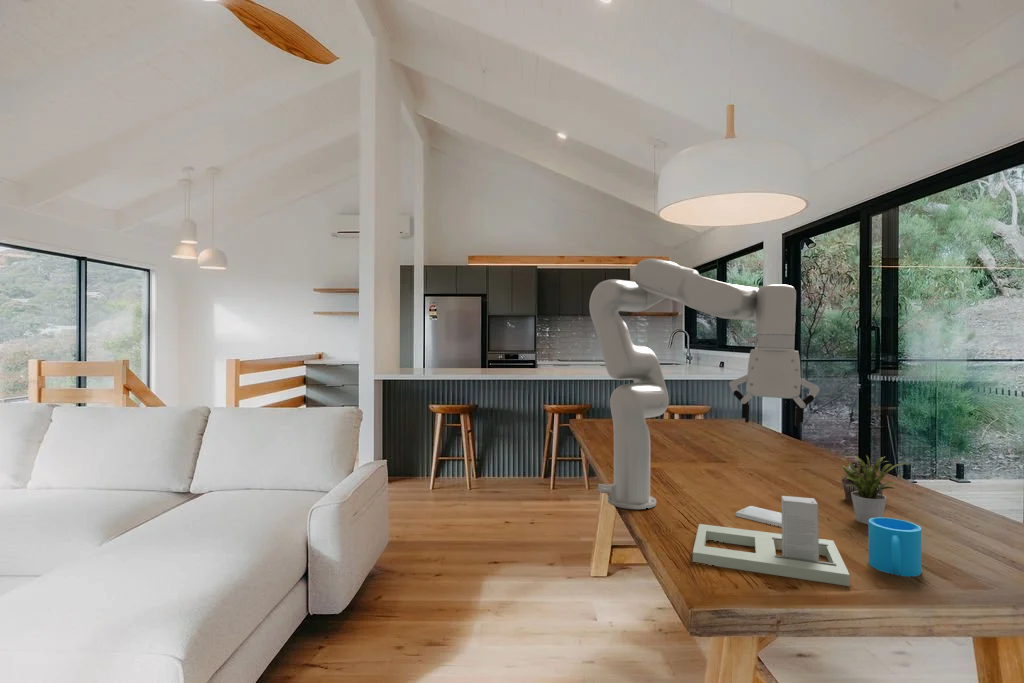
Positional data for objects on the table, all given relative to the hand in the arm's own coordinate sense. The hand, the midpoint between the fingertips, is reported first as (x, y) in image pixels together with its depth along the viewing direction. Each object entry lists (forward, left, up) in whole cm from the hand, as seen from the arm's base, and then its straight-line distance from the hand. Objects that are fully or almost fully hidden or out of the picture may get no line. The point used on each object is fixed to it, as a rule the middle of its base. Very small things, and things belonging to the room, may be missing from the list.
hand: (771, 423), depth 115 cm
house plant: (+23, +25, -25) cm, 43 cm away
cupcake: (+24, +44, -26) cm, 57 cm away
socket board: (-2, -9, -25) cm, 27 cm away
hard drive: (0, +18, -26) cm, 31 cm away
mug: (+20, -7, -26) cm, 33 cm away
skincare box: (+4, -8, -26) cm, 27 cm away
